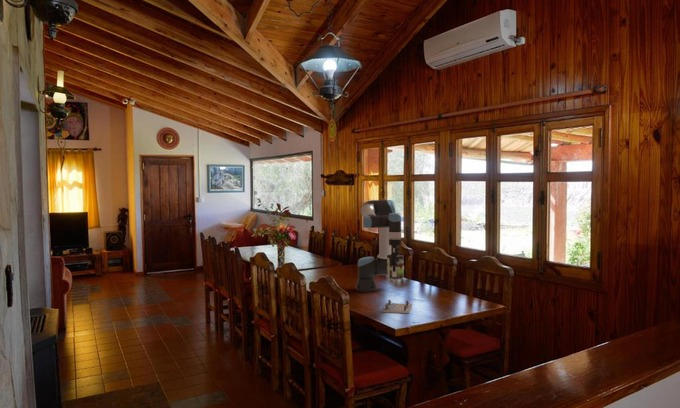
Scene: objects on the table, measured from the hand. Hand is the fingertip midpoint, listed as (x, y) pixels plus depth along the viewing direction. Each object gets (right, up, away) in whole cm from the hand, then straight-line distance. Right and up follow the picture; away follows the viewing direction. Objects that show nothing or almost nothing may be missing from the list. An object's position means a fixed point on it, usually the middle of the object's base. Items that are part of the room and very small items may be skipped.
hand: (395, 275), depth 303 cm
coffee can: (0, -2, 0) cm, 2 cm away
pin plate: (+1, -21, +1) cm, 21 cm away
